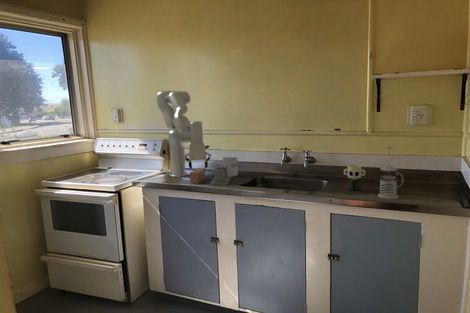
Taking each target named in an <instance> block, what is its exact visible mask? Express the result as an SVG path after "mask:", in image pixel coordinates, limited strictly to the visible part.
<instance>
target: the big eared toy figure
mask: <svg viewBox="0 0 470 313" xmlns="http://www.w3.org/2000/svg"><path fill="white" fill-rule="evenodd" d="M346 171H347V172H346ZM343 175H344V176H347V178H348V179H349V181H348V184H347V189H348V190H350V191H359V190H361V183H360V179H362V177H364V176H366V169H362V165H358V164H357V165H356V164H351V165H347V168H345V169H343Z"/></svg>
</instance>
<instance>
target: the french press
mask: <svg viewBox="0 0 470 313" xmlns="http://www.w3.org/2000/svg"><path fill="white" fill-rule="evenodd" d="M387 149H388V157H390V153H391V150H390V149H392V146H390V145H388V146H387ZM379 169H380V171H383V172H396V171H398V168H397V167H395V166H393V165H390V164H388V165H385V166H381V167H380V168H379ZM395 174H396V176H398V175H400V176H401V184H400V185H398V184H397V183H398V180H397V177H396V176H394V175H390V173H388V175H381V176H380V180H379V193H378V194H377V196H378V198H383V199H391V198H392V199H398V198H399V195H398V188H400V187H401V186H402V185H403V184H404V176H403V174H402V173H400V172H396V173H395Z"/></svg>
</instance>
